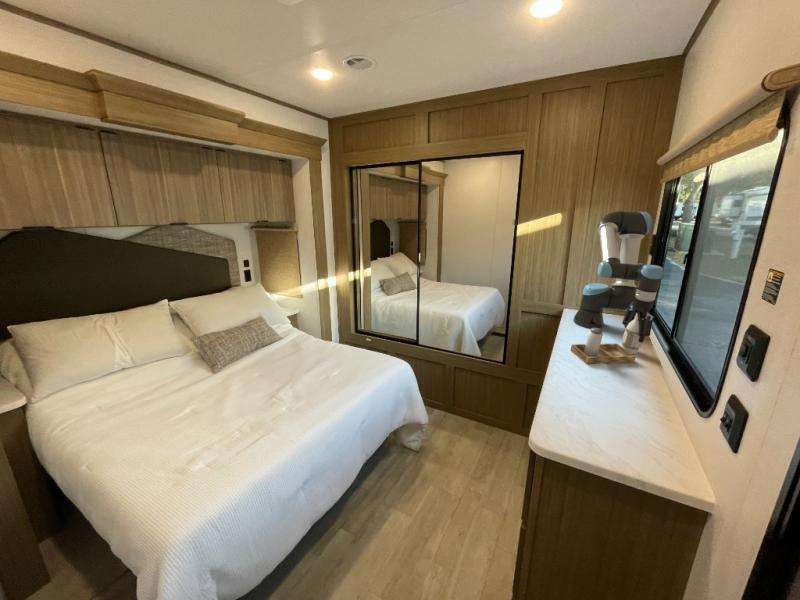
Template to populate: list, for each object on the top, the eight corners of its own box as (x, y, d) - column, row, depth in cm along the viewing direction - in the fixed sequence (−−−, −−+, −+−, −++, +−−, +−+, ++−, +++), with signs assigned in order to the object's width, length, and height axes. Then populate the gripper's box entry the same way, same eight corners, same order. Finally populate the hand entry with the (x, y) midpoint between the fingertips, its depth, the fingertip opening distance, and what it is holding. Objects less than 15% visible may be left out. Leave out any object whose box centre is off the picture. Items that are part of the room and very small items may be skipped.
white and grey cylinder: (587, 351, 156) (593, 326, 151) (599, 356, 151) (606, 330, 147) (581, 354, 153) (587, 328, 148) (593, 359, 148) (599, 333, 144)
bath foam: (619, 346, 163) (629, 309, 156) (636, 349, 160) (647, 311, 153) (621, 352, 157) (632, 314, 150) (638, 355, 154) (650, 316, 147)
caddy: (614, 349, 160) (616, 343, 158) (634, 362, 148) (635, 356, 147) (570, 350, 158) (571, 344, 157) (586, 364, 146) (587, 357, 145)
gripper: (620, 291, 158) (609, 334, 166) (653, 306, 139) (639, 354, 147) (635, 291, 158) (623, 334, 166) (670, 306, 140) (655, 353, 148)
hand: (631, 343), depth 157 cm, fingers closed on bath foam, 7 cm apart
